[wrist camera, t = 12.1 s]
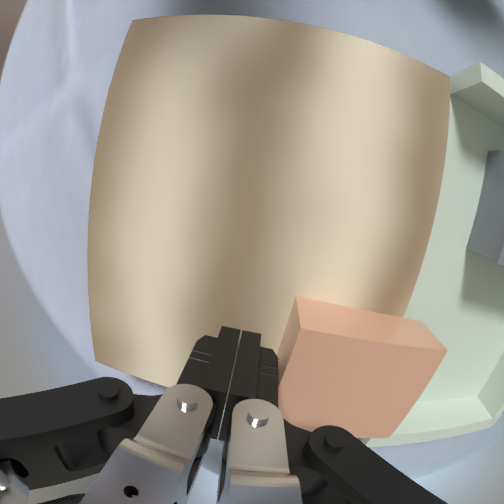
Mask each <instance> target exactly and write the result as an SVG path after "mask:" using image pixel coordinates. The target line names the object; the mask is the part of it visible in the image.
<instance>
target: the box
mask: <svg viewBox="0 0 504 504" xmlns="http://www.w3.org/2000/svg"><path fill="white" fill-rule="evenodd" d="M495 150H504V79H503V78H502V77H500V76H499V75H498V74H496V73H495V72H494V71H492V70H491V69H490V68H488V67H487V66H486V65H484V64H483V63H481V62H479V63H477V64H475V65H473V66H471V67H469V68H467V69H465V70H463V71H461V72H459V73H457V74H455V75H453V76H451V77H450V112H449V128H448V140H447V149H446V157H445V165H444V172H443V178H442V184H441V189H440V195H439V200H438V205H437V209H436V214H435V218H434V223H433V227H432V231H431V235H430V239H429V242H428V246H427V250H426V253H425V256H424V260H423V263H422V266H421V269H420V273H419V276H418V279H417V282H416V285H415V287H414V290H413V293H412V296H411V299H410V301H409V304H408V307H407V309H406V312H405V314H404V317H403V318H408V319H413V320H418V321H422V322H423V323H424V324H425V325H426V326H427V327H428V329H429V330H430V331H431V332H432V333H433V334H434V335H435V336H436V338H437V339H438V340H439V341H440V342H441V343H442V344H443V346H444V347H445V348H446V349H447V350H448V351H447V353H446V354H445V356H444V358H443V360H442V362H441V363H440V365H439V367H438V369H437V370H436V372H435V374H434V375H433V377H432V379H431V380H430V382H429V383H428V385H427V387H426V388H425V390H424V391H423V393H422V394H421V396H420V397H419V399H418V400H417V402H416V403H415V404H414V406H413V407H412V409H411V410H410V412H409V413H408V414H407V416H406V417H405V418H404V420H403V421H402V422H401V424H400V425H399V426H398V427H397V429H396V430H395V431H394V433H393V434H392V435H391V436H390V437H389V438H361V439H362V443H363V444H365V445H366V446H367V447H382V446H394V445H404V444H413V443H420V442H427V441H433V440H439V439H444V438H449V437H454V436H458V435H463V434H467V433H471V432H475V431H479V430H482V429H486V428H489V427H492V426H493V425H494V423H495V422H496V421H497V419H498V418H499V417H500V415H501V414H502V413H503V411H504V266H502V265H500V264H498V263H496V262H494V261H492V260H490V259H488V258H486V257H484V256H482V255H479V254H477V253H475V252H473V251H471V250H469V249H467V248H466V246H467V243H468V240H469V237H470V233H471V230H472V226H473V223H474V219H475V215H476V211H477V207H478V203H479V199H480V194H481V189H482V184H483V179H484V173H485V167H486V161H487V154H488V151H495Z"/></svg>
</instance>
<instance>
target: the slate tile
mask: <svg viewBox="0 0 504 504" xmlns="http://www.w3.org/2000/svg"><path fill="white" fill-rule="evenodd" d="M466 248H467V249H469V250H471V251H473V252H475V253H477V254H479V255H482V256H484V257H486V258H488V259H490V260H492V261H494V262H496V263H498V264H500V265H502V266H504V150H495V151H488V154H487V161H486V167H485V173H484V179H483V184H482V189H481V194H480V199H479V203H478V207H477V211H476V215H475V219H474V223H473V226H472V230H471V233H470V237H469V240H468V243H467V246H466Z"/></svg>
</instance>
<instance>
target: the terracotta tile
mask: <svg viewBox="0 0 504 504" xmlns="http://www.w3.org/2000/svg"><path fill="white" fill-rule="evenodd" d="M447 351H448V350H447V349H446V348H445V347H444V346H443V344H442V343H441V342H440V341H439V340H438V339H437V338H436V336H435V335H434V334H433V333H432V332H431V331H430V330H429V329H428V327H427V326H426V325H425V324H424V323H423V322H422V321H418V320H413V319H408V318H402V317H397V316H392V315H386V314H381V313H376V312H371V311H366V310H361V309H356V308H351V307H346V306H341V305H337V304H332V303H327V302H323V301H318V300H313V299H309V298H304V297H300V296H295V300H294V303H293V306H292V309H291V312H290V315H289V319H288V322H287V325H286V328H285V331H284V334H283V337H282V340H281V343H280V346H279V349H278V352H277V357H278V408H279V410H280V411H281V413H282V415H283V418H284V419H285V420H286V421H288V422H289V423H290V424H292V425H294V426H296V427H299V428H302V429H304V430H307V431H310V432H313V431H314V430H315V429H316V428H318V427H321V426H325V425H333V426H338V427H341V428H343V429H345V430H347V431H348V432H350V433H351V434H352V435H353V436H355V437H356V438H389V437H390V436H391V435H392V434H393V433H394V431H395V430H396V429H397V427H398V426H399V425H400V424H401V422H402V421H403V420H404V418H405V417H406V416H407V414H408V413H409V412H410V410H411V409H412V407H413V406H414V404H415V403H416V402H417V400H418V399H419V397H420V396H421V394H422V393H423V391H424V390H425V388H426V387H427V385H428V383H429V382H430V380H431V379H432V377H433V375H434V374H435V372H436V370H437V369H438V367H439V365H440V363H441V362H442V360H443V358H444V356H445V354H446V353H447Z"/></svg>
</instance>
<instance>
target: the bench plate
mask: <svg viewBox="0 0 504 504" xmlns="http://www.w3.org/2000/svg"><path fill="white" fill-rule="evenodd" d="M449 112H450V77H449V76H448V75H446V74H444V73H442V72H440V71H438V70H436V69H434V68H432V67H430V66H428V65H426V64H424V63H422V62H420V61H418V60H416V59H413V58H411V57H409V56H407V55H404V54H402V53H399V52H397V51H395V50H392V49H389V48H387V47H384V46H381V45H379V44H376V43H373V42H370V41H367V40H364V39H361V38H358V37H355V36H351V35H348V34H344V33H341V32H337V31H333V30H329V29H325V28H321V27H316V26H312V25H307V24H302V23H296V22H291V21H284V20H278V19H270V18H261V17H251V16H238V15H177V16H163V17H153V18H145V19H137V20H132V23H131V25H130V28H129V30H128V33H127V36H126V38H125V41H124V44H123V47H122V49H121V52H120V55H119V58H118V61H117V64H116V68H115V71H114V74H113V78H112V81H111V85H110V88H109V92H108V96H107V100H106V104H105V108H104V113H103V117H102V122H101V127H100V132H99V137H98V143H97V149H96V155H95V161H94V169H93V176H92V185H91V195H90V207H89V222H88V294H89V309H90V321H91V331H92V339H93V347H94V354H95V361H97V362H99V363H101V364H104V365H106V366H109V367H111V368H114V369H116V370H119V371H122V372H124V373H127V374H130V375H132V376H135V377H138V378H141V379H144V380H147V381H150V382H153V383H156V384H159V385H162V386H166V387H171V386H174V385H176V384H177V381H178V379H179V377H180V375H181V373H182V371H183V369H184V366H185V364H186V362H187V360H188V358H189V356H190V354H191V351H192V349H193V347H194V345H195V343H196V341H197V340H199V339H200V338H202V337H203V336H205V335H208V336H212V337H216V338H218V335H219V332H220V329H221V327H222V326H226V327H231V328H236V329H240V330H241V331H240V336H239V341H238V346H237V350H236V355H235V360H234V365H233V369H232V374H231V378H230V383H229V387H228V392H227V396H226V401H225V402H227V399H228V394H229V390H230V385H231V380H232V376H233V371H234V367H235V362H236V357H237V353H238V348H239V343H240V339H241V334H242V330H245V331H250V332H255V333H260V334H261V343H260V347H265V348H270V349H273V350H274V352H275V354H276V355H277V352H278V349H279V346H280V343H281V340H282V337H283V334H284V331H285V328H286V325H287V322H288V319H289V315H290V312H291V309H292V306H293V303H294V300H295V296H300V297H304V298H309V299H313V300H318V301H323V302H327V303H332V304H337V305H341V306H346V307H351V308H356V309H361V310H366V311H371V312H376V313H381V314H386V315H392V316H397V317H402V318H403V317H404V314H405V312H406V309H407V307H408V304H409V301H410V299H411V296H412V293H413V290H414V287H415V285H416V282H417V279H418V276H419V273H420V269H421V266H422V263H423V260H424V256H425V253H426V250H427V246H428V242H429V239H430V235H431V231H432V227H433V223H434V218H435V214H436V209H437V205H438V200H439V195H440V189H441V184H442V178H443V172H444V165H445V157H446V149H447V140H448V128H449Z"/></svg>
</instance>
